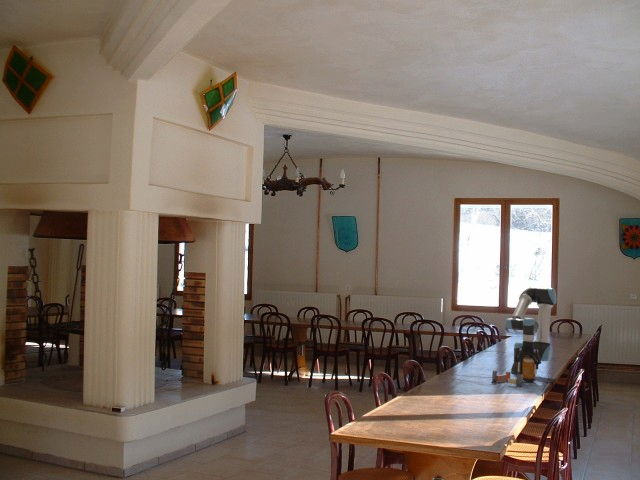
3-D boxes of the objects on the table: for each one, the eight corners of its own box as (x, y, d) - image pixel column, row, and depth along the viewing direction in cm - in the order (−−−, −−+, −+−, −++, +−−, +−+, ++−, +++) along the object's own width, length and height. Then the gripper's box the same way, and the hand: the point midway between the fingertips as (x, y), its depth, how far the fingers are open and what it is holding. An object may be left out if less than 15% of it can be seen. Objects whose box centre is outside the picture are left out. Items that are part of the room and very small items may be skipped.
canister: (535, 382, 474) (536, 352, 474) (519, 381, 476) (519, 351, 477) (534, 380, 482) (535, 351, 483) (518, 379, 485) (518, 350, 485)
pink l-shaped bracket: (495, 381, 473) (495, 372, 473) (507, 380, 481) (507, 371, 481) (498, 382, 471) (498, 373, 471) (510, 380, 479) (510, 371, 479)
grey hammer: (510, 384, 465) (510, 372, 465) (522, 386, 460) (522, 374, 460) (507, 385, 462) (508, 373, 462) (520, 387, 457) (520, 374, 457)
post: (492, 381, 473) (493, 370, 473) (498, 382, 471) (498, 370, 471) (490, 382, 470) (490, 370, 470) (495, 383, 468) (496, 371, 468)
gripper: (509, 339, 484) (508, 371, 484) (543, 343, 470) (542, 375, 469) (514, 338, 490) (513, 370, 489) (547, 342, 476) (546, 374, 475)
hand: (527, 373), depth 479 cm, fingers open, 11 cm apart
